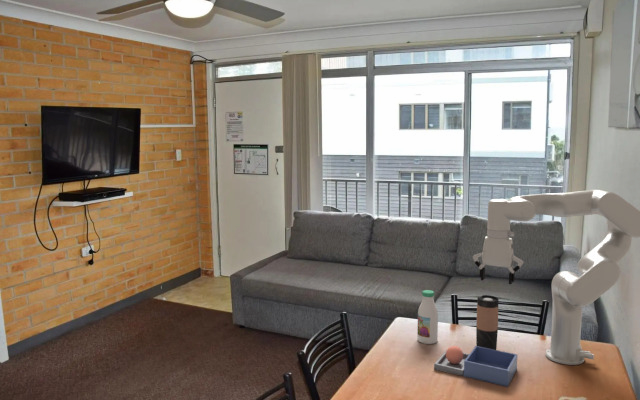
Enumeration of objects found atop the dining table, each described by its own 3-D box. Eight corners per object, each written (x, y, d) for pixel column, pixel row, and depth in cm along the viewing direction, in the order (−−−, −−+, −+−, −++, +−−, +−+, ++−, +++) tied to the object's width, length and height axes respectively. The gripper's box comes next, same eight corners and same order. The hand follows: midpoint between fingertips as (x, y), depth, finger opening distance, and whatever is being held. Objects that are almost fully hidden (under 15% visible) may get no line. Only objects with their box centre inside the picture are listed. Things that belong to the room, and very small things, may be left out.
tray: (474, 360, 185) (474, 355, 185) (462, 376, 173) (463, 370, 173) (446, 354, 190) (447, 349, 190) (434, 369, 178) (434, 363, 178)
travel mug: (498, 354, 189) (500, 302, 187) (476, 353, 191) (478, 300, 188) (495, 346, 197) (497, 295, 194) (474, 344, 198) (476, 294, 196)
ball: (465, 361, 182) (465, 344, 182) (460, 368, 177) (460, 351, 177) (449, 358, 186) (448, 342, 185) (443, 365, 181) (443, 348, 180)
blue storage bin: (516, 369, 177) (517, 354, 177) (507, 387, 165) (508, 370, 165) (475, 360, 185) (475, 345, 184) (463, 376, 173) (464, 360, 172)
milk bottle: (430, 335, 208) (431, 287, 205) (441, 343, 200) (442, 293, 198) (413, 338, 205) (414, 289, 202) (423, 345, 198) (424, 295, 195)
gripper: (526, 234, 180) (524, 282, 182) (476, 230, 189) (475, 275, 191) (522, 238, 174) (520, 287, 176) (470, 233, 183) (469, 280, 185)
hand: (496, 281), depth 184 cm, fingers open, 9 cm apart
